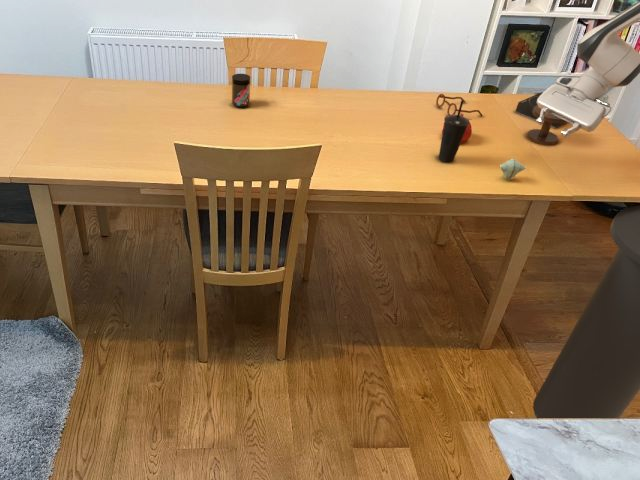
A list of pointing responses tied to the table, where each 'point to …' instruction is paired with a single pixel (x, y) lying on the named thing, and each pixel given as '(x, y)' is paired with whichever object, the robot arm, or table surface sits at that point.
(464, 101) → the glasses
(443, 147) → the drinking cup
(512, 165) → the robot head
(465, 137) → the red tomato
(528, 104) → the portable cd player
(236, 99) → the supplement container
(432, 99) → the table surface
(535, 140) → the brown round base
